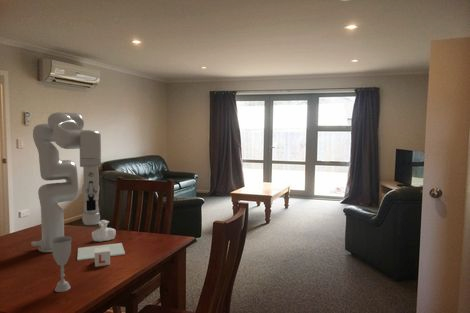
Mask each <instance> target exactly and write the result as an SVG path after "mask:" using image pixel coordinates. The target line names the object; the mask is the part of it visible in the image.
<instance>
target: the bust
mask: <svg viewBox="0 0 470 313" xmlns="http://www.w3.org/2000/svg"><path fill="white" fill-rule="evenodd" d="M109 223H110V221H109V220H106V219H100V221H99V223H97V225H98V227H99V228H97V229H95V230H92V232H91V237H92V240H93V241H94V242H100V243H101V242H105V241H111V240H113V239H115V238H116V232H117V231H116V229H115V228H112V227H108V224H109Z"/></svg>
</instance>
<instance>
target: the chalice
mask: <svg viewBox="0 0 470 313" xmlns="http://www.w3.org/2000/svg"><path fill="white" fill-rule="evenodd" d="M72 240H73V237H72V236H69V235H68V236H66V235H64V236H63V237H57V238H54V239H52V240H51V243H52V250H53V252H52V256H53V259H54V262H56V264H57V266H60V269H59V271H60V275H59V277H60V280H59V281H58V282H57V283H56V285H55V289H54V291H55V292H57V293H61V292H62V293H63V292H66V291H69V290H70V289H71V285H70V283H69V281H67V280H65V276H66V274H65V265H66V264H67V263H68V261H69V258H70V256H71V253H72Z"/></svg>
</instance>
